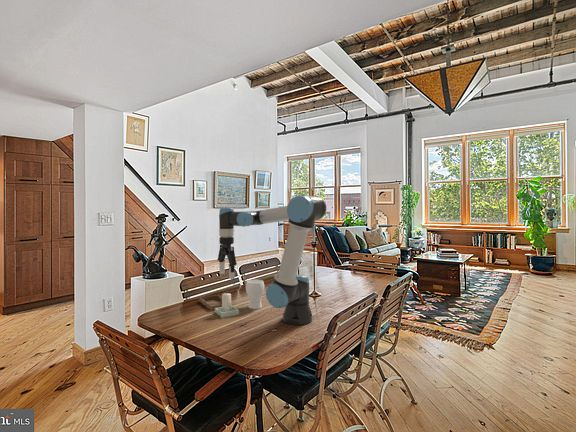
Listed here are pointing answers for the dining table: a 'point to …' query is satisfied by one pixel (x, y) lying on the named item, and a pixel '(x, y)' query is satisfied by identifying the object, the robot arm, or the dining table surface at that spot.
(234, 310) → the dish
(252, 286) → the cup
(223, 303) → the white rounded cylinder
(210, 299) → the tray
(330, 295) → the dining table surface
